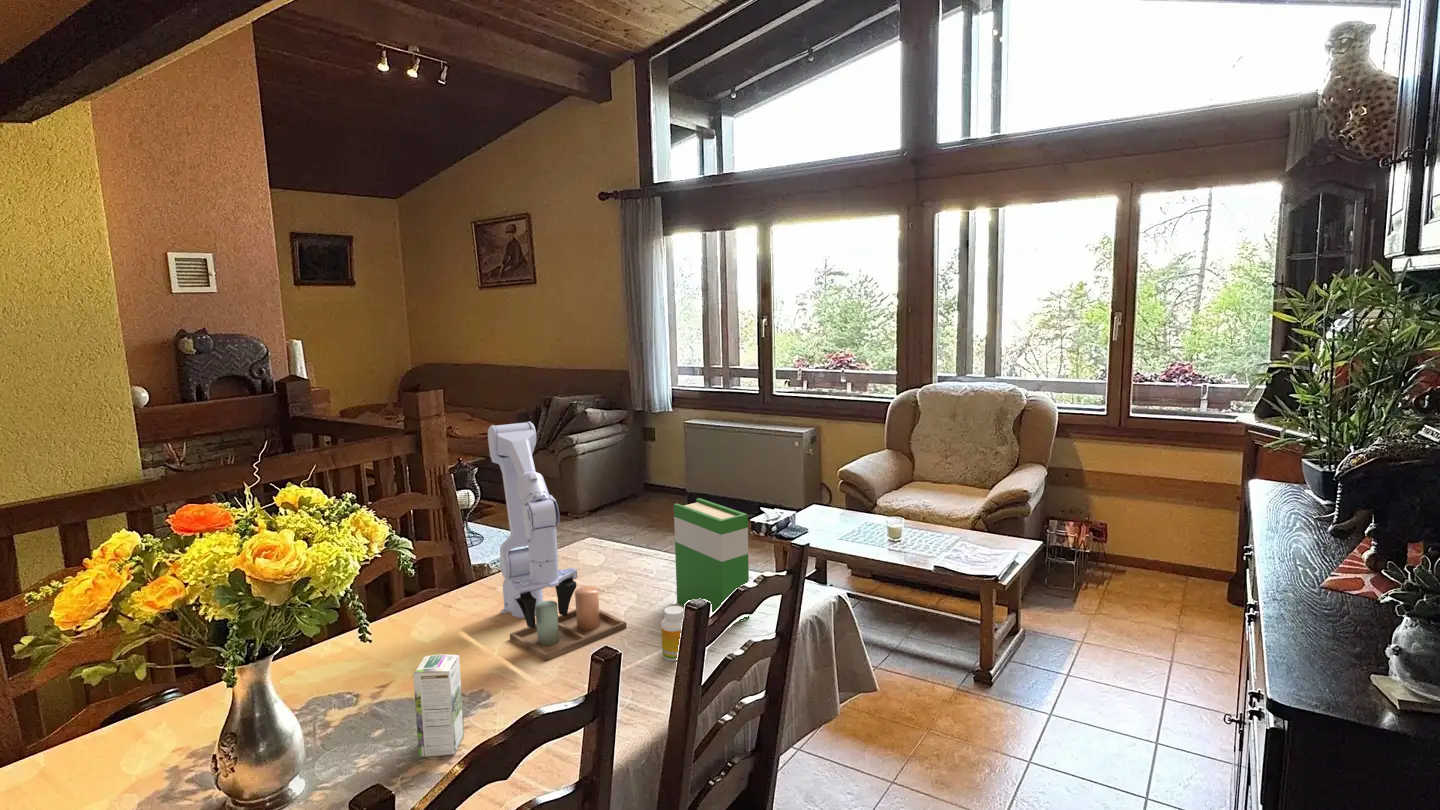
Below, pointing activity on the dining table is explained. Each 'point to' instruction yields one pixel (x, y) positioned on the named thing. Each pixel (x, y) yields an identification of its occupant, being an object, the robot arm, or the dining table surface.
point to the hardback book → (710, 551)
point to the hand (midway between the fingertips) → (547, 620)
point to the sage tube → (547, 623)
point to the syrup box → (438, 705)
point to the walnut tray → (567, 635)
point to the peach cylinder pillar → (587, 608)
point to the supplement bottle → (671, 631)
